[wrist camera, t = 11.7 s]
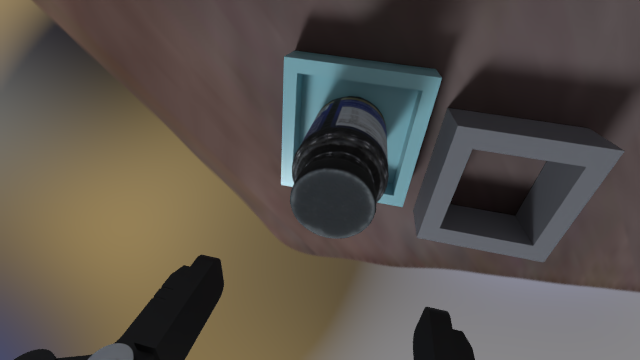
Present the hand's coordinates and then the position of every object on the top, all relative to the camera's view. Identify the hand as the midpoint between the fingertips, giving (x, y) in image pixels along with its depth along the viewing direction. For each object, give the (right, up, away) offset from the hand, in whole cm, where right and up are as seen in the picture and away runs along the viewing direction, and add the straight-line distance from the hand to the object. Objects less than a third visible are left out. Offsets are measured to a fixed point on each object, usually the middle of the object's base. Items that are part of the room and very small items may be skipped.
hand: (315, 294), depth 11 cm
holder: (+15, +5, +14) cm, 21 cm away
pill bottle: (+3, +9, +14) cm, 17 cm away
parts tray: (+3, +9, +14) cm, 17 cm away
